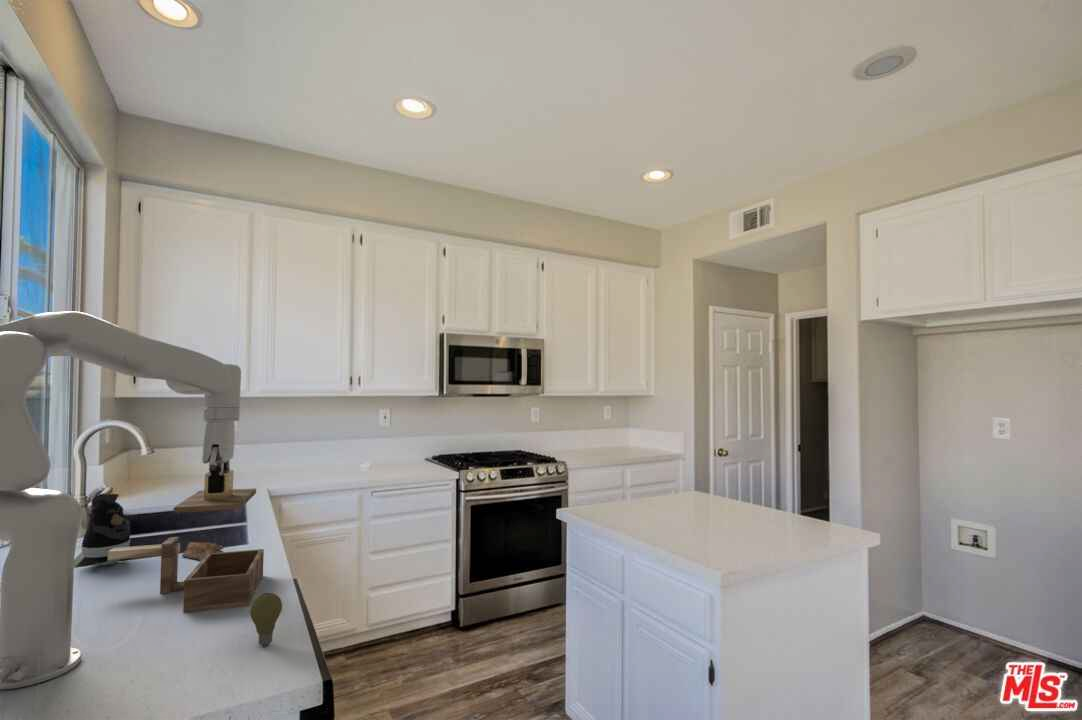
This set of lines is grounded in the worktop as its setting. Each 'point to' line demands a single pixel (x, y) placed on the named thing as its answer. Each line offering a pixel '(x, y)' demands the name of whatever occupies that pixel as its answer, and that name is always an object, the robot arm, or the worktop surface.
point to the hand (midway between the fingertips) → (218, 489)
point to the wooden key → (139, 551)
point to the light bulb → (265, 615)
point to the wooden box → (213, 578)
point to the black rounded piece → (105, 529)
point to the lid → (217, 498)
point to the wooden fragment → (201, 550)
